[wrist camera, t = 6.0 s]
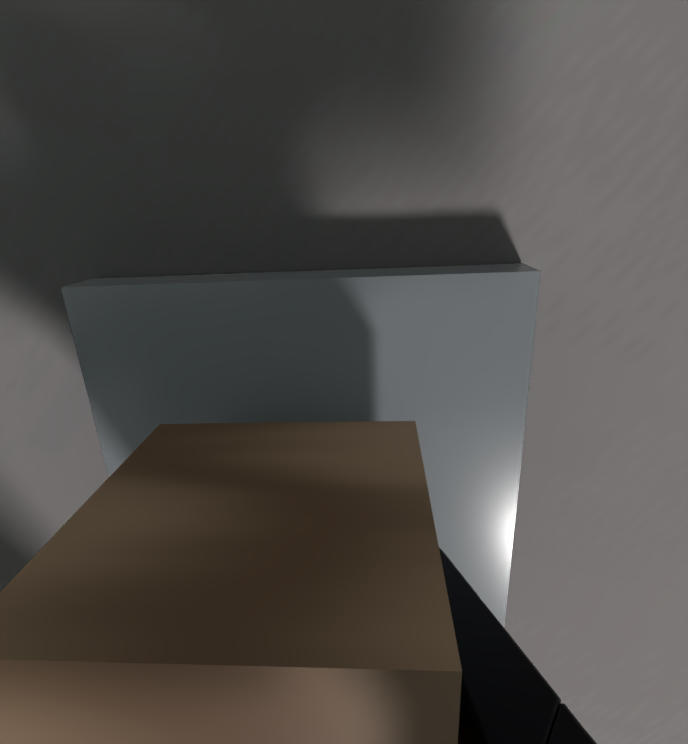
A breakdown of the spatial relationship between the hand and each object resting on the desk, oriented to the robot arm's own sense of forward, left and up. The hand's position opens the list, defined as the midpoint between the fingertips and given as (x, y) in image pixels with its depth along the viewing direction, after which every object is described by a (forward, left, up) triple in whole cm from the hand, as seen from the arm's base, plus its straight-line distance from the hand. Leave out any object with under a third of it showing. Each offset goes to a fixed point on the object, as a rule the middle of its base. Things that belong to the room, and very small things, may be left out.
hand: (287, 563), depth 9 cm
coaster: (0, 0, -4) cm, 4 cm away
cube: (0, 0, -1) cm, 1 cm away
